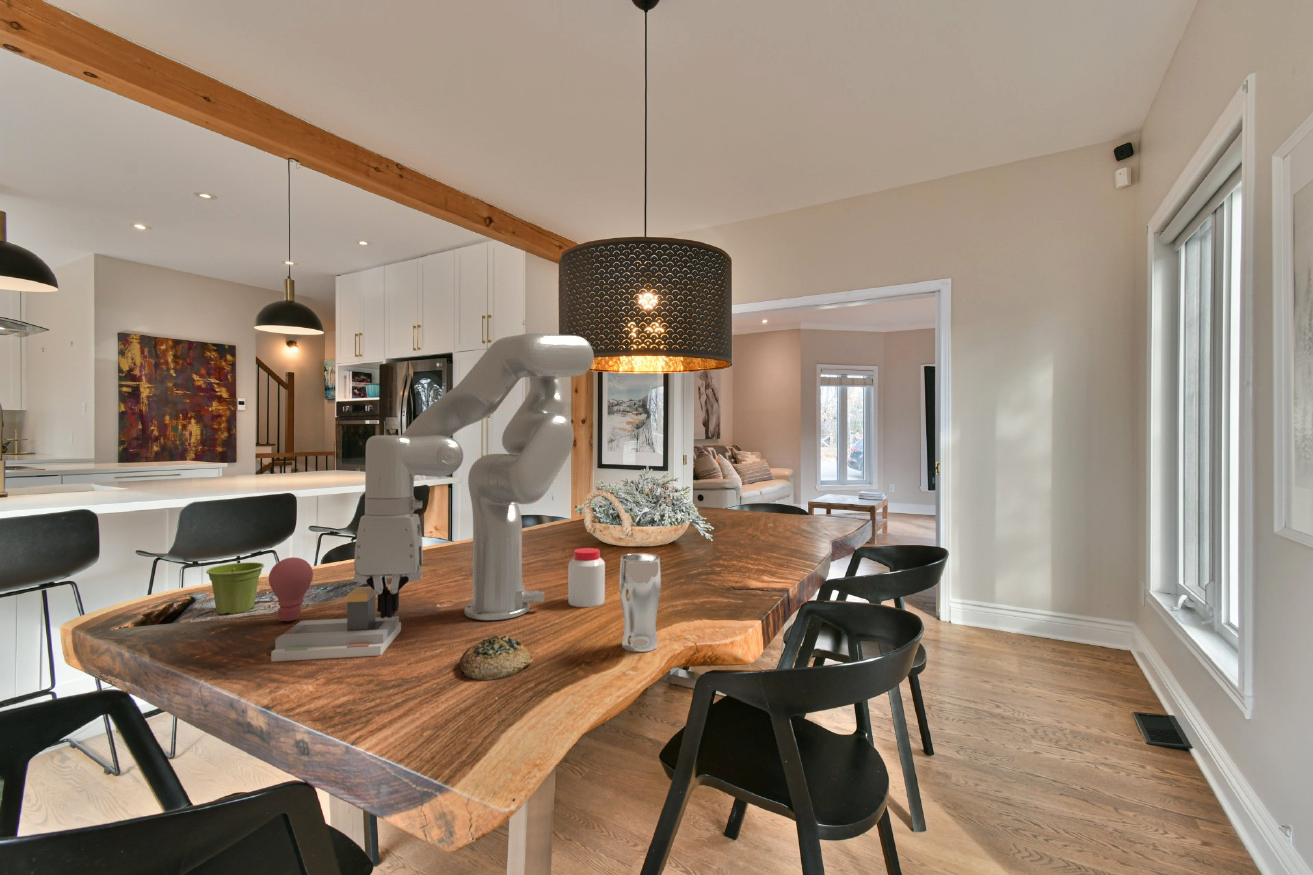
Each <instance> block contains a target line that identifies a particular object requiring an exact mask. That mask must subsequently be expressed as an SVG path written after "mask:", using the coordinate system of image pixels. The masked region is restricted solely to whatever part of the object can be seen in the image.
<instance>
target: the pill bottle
mask: <svg viewBox="0 0 1313 875" xmlns="http://www.w3.org/2000/svg"><path fill="white" fill-rule="evenodd" d="M600 550H601V549H599V548H593V547H582V548H581V547H580V548H576V549H574V550H573V558H572V559H570V561H569V562H568V571H567V572H568V574H567V575H568V581H567V585H568V588H567V592H568V596H567V597H568V599H567V600H568V602H567V603H568V604H569V605H570V606H572V607H576V608H592V607H593V608H594V607H599V606H601V605H603V604H604V603H605V601H606V562H605V560H604V559H603V558H601V556H600V555H601V554H600V553H601V552H600Z"/></svg>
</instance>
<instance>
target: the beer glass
mask: <svg viewBox="0 0 1313 875" xmlns="http://www.w3.org/2000/svg"><path fill="white" fill-rule="evenodd" d="M660 562H661V559H660V555H658V554H654V553H648V552H647V553H646V552H634V553H627V554H626V553H625V554H623V555H621V556H620V564H619V565H620V568H619V581H618V582H619V595H620V603H621V607H622V608H621V609H622V613H623V621H624V622H623V623H624V624H623V625H624V629H623V630H624V631H623V637H622V642H621V647H622V648H623V650H626V651H627V652H632V653H645V652H646V653H648V652H651V651H654V650H656V649H657V648H658V647H659V643H658V635H657V630H656V624H657V623H656V622H657V615H658V609H659V602H660V597H661V588H662V587H661V585H662V584H661V583H662V580H661V578H662V577H661V563H660Z"/></svg>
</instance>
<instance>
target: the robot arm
mask: <svg viewBox="0 0 1313 875" xmlns="http://www.w3.org/2000/svg"><path fill="white" fill-rule="evenodd" d="M592 347H593V346H591V344H590V342H589V341H588V340H586V339H585V338H584V337H582V336H580V335H576V334H575V335H573V334H554V333H553V334H552V333H551V334H550V333H549V334H548V333H522V334H517V335H511V336H510V335H509V336H506V337H502V338H499V339H497V340H496V341H493V343H492V344H491V345H490V346H489V347H488V349H487V350H486V351H485V352H484V353H483V354H482V356H480V358H479V359H478V360H477V362H476V363H475V364H474V365H473V367H472V368H471V369H470V370H469V372H468V373H467V374H466V375H465V376H464V377H463V379H462V380H461V381H459V383H458V384H456V386H455V387H453V388H452V389H450V390H449V391H448V392H446V393H445V394H444V395H443V396H441V397H440V398H439V399H438V400H437V399H436V401H435V402H433V403H432V404H431V405H430V406H428V407H426V409H425V410H423V411H422V412H421V413H420V414H419V415H418V416H417V417H416V418H415V419H414V420H413V421H412V422H411V423H410V425H409V426H408V427H407V428H406V429H405V430H404V432H402V434H401V435H396V434H395V435H393V434H391V435H387V434H386V435H385V434H382V435H379V434H378V435H372V436H370V437H369V438H368V439H367V440H366V444H365V486H364V487H365V488H364V489H365V490H364V491H365V492H364V494H365V495H364V497H365V498H364V515H362V516H360V519H359V523H358V528H357V534H356V541H355V547H354V561H353V569H354V572H355V573H354V575H353V581H354V582H355V583H359V584H360V583H361V584H366V585H368V587H371V588H372V589H374V590H375V593H376V594H377V612H378V613H380V617H381V618H385V617H387V618H391V617H392V616H394V615H395V614H396V613H397V612H398V610H399V608H400V605H399V604H400V590H401V589H402V588H404V586H405V585H406V584H408V583H413V582H416V581H419V580H421V579H422V577H423V576H424V574H423V571H422V567H423V562H424V561H423V560H424V553H423V552H424V551H423V550H424V549H423V537H422V535H423V534H422V526H421V520H420V516H419V514H417V513H414V512H415V511H416V510H418V509H422V508H423V500H418V499H416V498H415V494H414V488H415V487H414V485H415V483H414V482H415V479H414V478H415V476H426V477H435V478H436V477H437V478H440V477H447V476H450V475H452V474H453V473H455V472H456V471H458V469H459V468H460V467H461V466H462V463H463V460H464V451H463V448H462V446H461V444H460V443H459V442H458V441H457V440H455V439H454V438H452V436H453V435H454V434H455V433H457V432H458V431H460V430H462V429H464V428H465V427H467V426H470V425H472V424H476V423H477V422H479V421H482V420H484V419H486V418H488V417H490V416H492V415H493V414H494V413H495V412H496V411H498V409H499V407H500V405H501V404H502V403H503V402H504V400H505V399H506V398H507V396H508V395H509V393H510V392H511V391H512V390H513V389H514V387H515V386H516V384H517V383H518V382H519V381H520V380H521V379H522V378H529V390H528V394H527V395H526V397H525V399H524V400H523V402H522V404H521V405H520V406H519V407H518V409H517V411H515V414H514V415H513V416H512V418H511V419H510V421H509V422H508V424H507V425H506V427H505V429H504V431H503V433H502V437H501V443H502V447H503V449H504V450H505V451H506V453H490V454H485V455H483V456H481V457H479V458H478V459H476V461H475V462H473V464H472V465H471V466H470V470H469V472H468V477H467V485H468V491H469V492H468V493H469V495H470V496H469V497H470V501H471V502H470V503H471V510H472V602H469V603H468V604H466V605H465V606H464V609H463V610H464V615H465V616H466V617H468V618H470V619H472V620H473V619H474V620H477V621H478V620H480V621H499V620H508V619H512V618H513V619H514V618H517V617H519V616H522V615H524V614H526V613H527V612H529V610H530V607H531V606H530V603H531V602H532V603H533V602H535V603H540V602H541V603H544V602H545V591H539V590H538V589H537V590H527V589H525V583H523V578H522V577H523V573H522V572H523V569H522V568H523V521H522V514H521V511H520V508H519V505H531V504H534V503H536V502H538V501H539V500H541V499H542V498H543V497H544V496H545V495H546V493H547V492H548V490H549V489H550V487H551V486H552V484H553V483H554V480H555V479H556V478H557V476H558V474H559V472H560V471H561V470H562V468H563V466H564V464H565V462H566V460H567V459H568V457H569V455H570V454H571V451H572V449H573V445H574V438H575V435H574V428H573V425H572V423H571V422H570V421H569V419H568V418H567V417H566V416H564V415H563V413H564V411H565V409H566V403H567V399H566V394H565V391H564V387H563V384H562V378H569V377H578V376H582V375H584V374H586V373H588V371H589V370H590V369H591V367H592V366H593V363H594V361H595V360H594V359H595V355H594V350H593V348H592ZM389 576H391V582H390V588H389V587H388V584H387V583H388V582H387V578H386V577H389Z"/></svg>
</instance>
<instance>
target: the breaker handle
mask: <svg viewBox="0 0 1313 875" xmlns="http://www.w3.org/2000/svg"><path fill="white" fill-rule="evenodd" d="M345 597H346V603H347V608H346V609H347V612H346V614H347V615H346V616H347V617H346V619H347V631H360V630H375V628H376V617H377V616H376V614H377V613H376V612H377V610H376V606H377V605H376V599H377V597H376V593H375V590H374V589H372V588H371V587H370V586H359V587H355V588H353V590H352V591H350V592H349V593H347V594H346V596H345Z"/></svg>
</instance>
